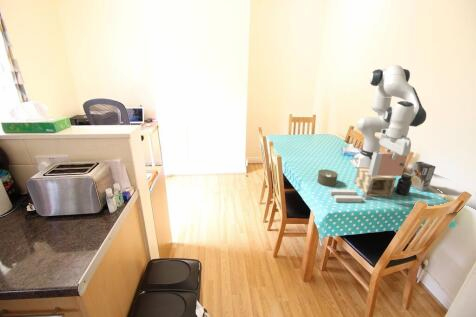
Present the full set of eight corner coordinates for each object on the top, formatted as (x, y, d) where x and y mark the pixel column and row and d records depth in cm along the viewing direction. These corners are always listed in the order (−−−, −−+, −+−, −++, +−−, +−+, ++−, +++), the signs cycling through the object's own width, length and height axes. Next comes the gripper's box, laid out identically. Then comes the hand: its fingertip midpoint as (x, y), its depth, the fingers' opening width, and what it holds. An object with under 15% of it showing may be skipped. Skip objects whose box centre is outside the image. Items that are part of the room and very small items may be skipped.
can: (335, 179, 155) (336, 170, 153) (337, 187, 144) (339, 178, 142) (316, 177, 158) (318, 168, 156) (317, 185, 147) (318, 175, 145)
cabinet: (349, 183, 150) (353, 166, 146) (375, 183, 150) (379, 167, 146) (365, 199, 132) (369, 180, 127) (395, 199, 132) (400, 181, 128)
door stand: (328, 193, 138) (329, 189, 137) (353, 193, 138) (354, 189, 137) (335, 201, 129) (336, 198, 128) (361, 202, 129) (362, 198, 128)
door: (368, 173, 130) (373, 151, 125) (398, 173, 130) (404, 152, 125) (372, 176, 126) (377, 154, 121) (403, 177, 126) (409, 154, 121)
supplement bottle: (395, 189, 144) (400, 172, 140) (408, 192, 140) (414, 175, 136) (394, 193, 139) (399, 175, 135) (407, 197, 135) (413, 179, 131)
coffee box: (428, 189, 144) (436, 166, 138) (421, 191, 142) (429, 167, 136) (413, 183, 152) (420, 161, 146) (406, 184, 150) (414, 162, 144)
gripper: (417, 139, 110) (409, 165, 115) (390, 129, 129) (384, 152, 134) (404, 138, 110) (397, 165, 115) (379, 128, 129) (374, 152, 134)
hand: (390, 158), depth 125 cm, fingers closed on door, 2 cm apart
